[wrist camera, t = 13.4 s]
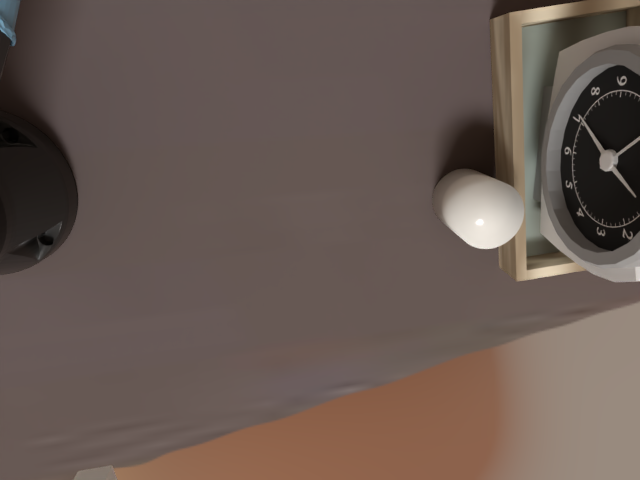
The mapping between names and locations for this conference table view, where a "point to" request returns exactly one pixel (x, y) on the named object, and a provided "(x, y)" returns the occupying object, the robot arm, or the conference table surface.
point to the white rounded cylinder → (478, 208)
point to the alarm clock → (593, 155)
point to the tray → (537, 110)
